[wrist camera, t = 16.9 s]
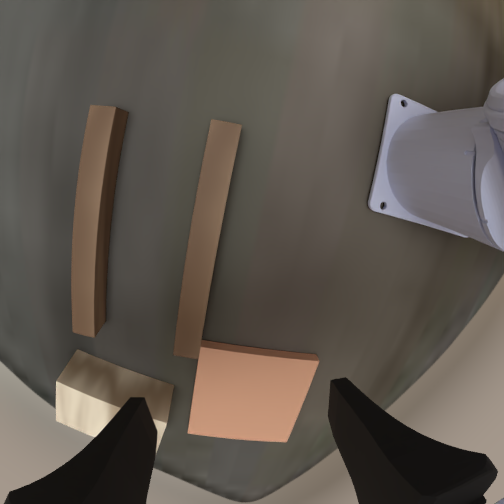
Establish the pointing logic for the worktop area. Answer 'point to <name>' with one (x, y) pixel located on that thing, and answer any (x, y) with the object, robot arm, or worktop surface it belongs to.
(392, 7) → the worktop surface
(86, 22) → the worktop surface
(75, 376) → the birch block
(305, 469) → the worktop surface
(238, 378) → the terracotta tile
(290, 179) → the worktop surface
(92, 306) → the slot rack
